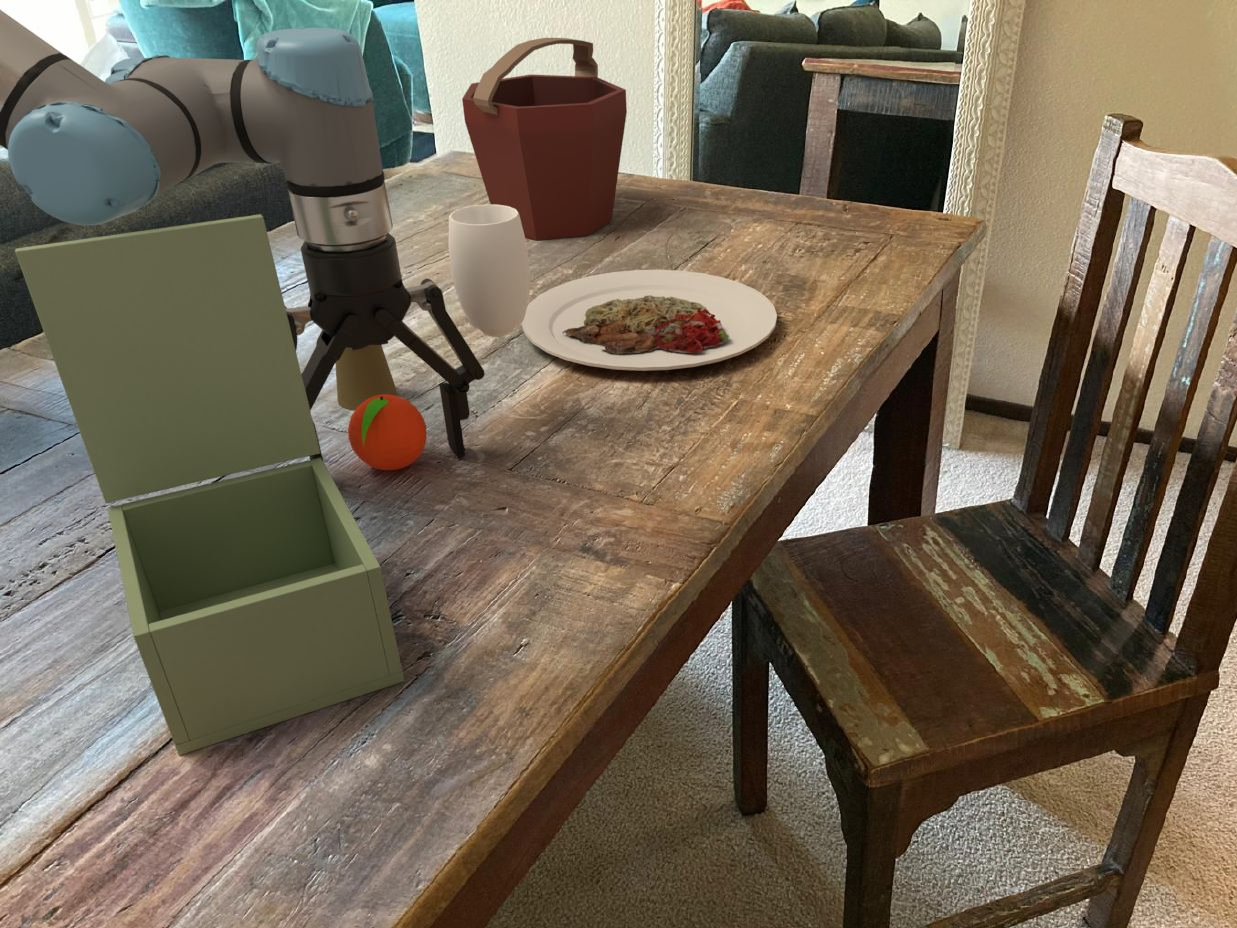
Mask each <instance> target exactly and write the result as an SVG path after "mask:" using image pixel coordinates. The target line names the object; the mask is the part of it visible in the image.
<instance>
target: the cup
mask: <svg viewBox="0 0 1237 928" xmlns="http://www.w3.org/2000/svg"><path fill="white" fill-rule="evenodd" d="M526 239H527V238H525V235H524V231H523V227H522V224H521V220H520V216H519V213H518V212H517V210H516V209H514V208H511V207H509V206H503V205H491V204H490V203H489V204H488V203H487V204H474V205H469V206H465V207H460V208H458V209H455V210H454V211H452V212H451V213H450V214H449V216H448V244H447V245H448V246H447V247H448V256H449V257H448V258H449V265H450V274H451V275H450V276H451V279H452V283H453V286H454V289H455V293H456V296H457V300H458V302H459V305H460V307H461V309H462V311H463V313H464V315H465V317H466V319H467V322H468V324H469V325H470V326H471V327H473V328H475V329H478V330H479V331H480V332H481V333H483V334H484V335H485V336H488V337H492V338H500V337H505V336H508V335H510V334H511V333H513V331H514V330H515V328H516V327H517V326H519V325H521V323H522V322H523V320H524V318H525V314H526V309H527V306H528V304H529V301H530V290H531V289H530V287H531V265H530V258H529V251H528V244H527V240H526Z"/></svg>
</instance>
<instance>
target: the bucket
mask: <svg viewBox="0 0 1237 928" xmlns="http://www.w3.org/2000/svg"><path fill="white" fill-rule="evenodd" d="M554 45H572V50H573V53H572V61H574V63H575V64H574V75H557V74H556V75H552V74H525V75H519V76H511V77H506V76H508V75H509V74H510V73H511V72H512V71H513V70H514V69H515V68H516V66H518V65H519V64H521V62H522V61H524V59H526V58H527V57H528V56H529V55H531V54H532V53H533V52H535V51H537V50H539V49H543V48H545V47H549V46H554ZM593 54H594V43H593V42H590V41H585V40H581V39H573V38H567V37H541V38H536V39H529V40H527V41H524V42H521V43H518V44H516V45H514V46H513V47H512V48H511V49H509V50H508V51H507V52H506V53H504V54H503V55H502V56H501V57H500V58H499V59H498V60H497V61H496V62H495V63H494V64H493V66H491V67H490V68H489V69H488V70H486V71H485V72H484V73H483V74H482V76H481V78H480V80H479V82H473V83H472V82H471V84H470V85H469V87H468V88H467V90H466V92H465V94H463V97H462V98H461V100H462V109H463V117H464V123H465V126H466V130H467V133H468V136H469V140H470V143H471V146H472V149H473V153H474V155H475V159H476V163H477V165H478V169H479V172H480V175H481V178H482V181H483V185H484V188H485V191H486V194H487V198H488V201H489V204H491V205H503V206H509V207H511V208H514V209H516V210H517V212H518V213H519V216H520V220H521V224H522V227H523V231H524V235H525V239H529V240H533V241H545V240H547V241H548V240H557V239H568V238H569V239H570V238H580V237H581V238H582V237H589V236H591V235H592V234H593V233H595V232H597V231H599V230H600V229H601V228H604V227H605V226H607V225H608V224H610V223H611V222H612V221H613V213H614V206H615V198H616V191H617V185H618V178H619V172H620V171H619V170H620V162H621V157H622V156H621V155H622V150H623V142H624V136H625V135H624V134H625V128H626V121H627V113H628V108H627V106H628V105H627V90H626V89H625V88H623V87H621V86H618V85H616V84H614V83H611V82H609V81H607V80H605V79H602V78H600V77H599V64H598V63H597V62H596V59H594V57H593Z"/></svg>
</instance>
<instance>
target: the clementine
mask: <svg viewBox="0 0 1237 928" xmlns="http://www.w3.org/2000/svg"><path fill="white" fill-rule="evenodd" d="M353 411H354V412H353V413H352V414H351V416H350V419H349V423H348V427H347V434H348V442H349V443H350V446H351V449H352V450H353V452H354V453H355V455H356V456H357V458H358V459H359V460H360V461H362V462H363V463H365V464H366V465H368V466H369V467H372V468H373V469H377V470H381V471H397V470H401V469H404V468H406V467H408V466H409V465H411V464H413V463H414V462H415V461H416V460H417V459H418V458H419V456H420V455H421V454H422V453H423V450H424V449H425V447H426V443H427V424H426V422H425V419H424V417H423V415H422V413H421V412H420V411H419V409H418V408H417V406H415V405H414V404H413V403H411V402H410V401H409V400H407V399H405V398H403V397H400V396H398V395H397V396H394V395H386V394H384V395H377V396H374V397H371V398H369V399H367V400H366V401H364V402H363V403H362V404H360V405H359V406H358V407H357V408H356V410H353Z"/></svg>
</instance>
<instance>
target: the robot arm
mask: <svg viewBox="0 0 1237 928" xmlns="http://www.w3.org/2000/svg"><path fill="white" fill-rule="evenodd" d="M256 51H257V56H256V58H253V59H229V58H227V59H226V58H198V57H197V58H196V57H195V58H194V57H174V56H173V57H171V56H169V55H168V54H167V55H166V54H162V55H161V54H156V55H154V56H151V57H136V58H135V57H133V58H124V59H122V60H120V61H117V62H116V63H115V64H113V66H112V67H110V75H109V76H108V77H106V78H105V80H103V79H101V78H100V77H98V76H97V75H96V74H94V73H93V72H91V71H90V70H88V68H87V69H86V67H84V66H82V65H81V64H79V63H78V62H77V61H75V60H74V59H72V58H70V57H69V56H67V55H66V54H64V53H62V52H61V51H60V50H59V49H57V48H56V47H54V46H53V45H51V44H50V43H49V42H48V41H46V40H44V39H43V38H42V37H40V36H39V35H38V34H36V33H34V32H33V31H31V30H30V29H29V28H27V27H26V26H25V25H23V24H22V23H20V21H19V22H18V21H17V20H16V19H15V18H13V17H11V16H10V15H9V14H7V13H6V12H4V11H3V10H2V9H0V146H1V147H2V148H4V149H5V150H7V156H8V157H7V158H8V162H9V165H10V169H11V172H12V175H13V177H14V178H15V180H16V182H17V184H18V185H19V186H21V187H22V188H23V189H24V191H25V192H26V194H27V195H28V196H29V197H30V200H31V202H32V203H33V204H35V206H36V207H38V208H40V210H42V211H43V212H45V213H46V214H47V215H49V216H51V217H53V218H55V219H58V220H59V221H62V222H64V223H67V224H68V223H69V224H72V225H75V226H76V225H77V226H87V227H88V226H91V227H92V226H99V225H103V224H106V223H108V222H112V221H115V220H116V219H119V218H122V217H124V216H127V215H131V214H134V213H137V212H138V211H139V210H140V211H141V210H142V209H144V208H145V207H146V206H148V204H149V203H150V202H151V201H153V200H154V199H155V198H157V197H158V196H160V195H162V194H163V193H165V192H167V191H168V190H170V189H171V188H173V187H175V186H178V185H180V184H183V183H184V182H186V181H188V180H190V179H191V178H193V177H195V176H197V175H199V174H200V173H202V172H204V171H206V170H207V169H209V168H211V167H213V166H214V165H217V164H224V163H225V164H226V163H228V164H229V163H233V164H234V163H236V164H237V163H238V164H239V163H240V164H241V163H242V164H277V163H278V164H280V165H281V169H282V172H283V175H284V179H285V182H286V188H287V191H288V196H289V200H290V201H289V202H290V206H291V210H292V215H293V220H294V225H295V231H296V235H297V237H298V238H299V239H300V240H301V241H303V243H302V245H301V247H300V252H301V257H302V262H303V266H304V272H305V275H306V281H307V285H308V289H309V300H308V304H307V305H305V306H297V307H289V308H288V307H287V306H286V305H285V309H286V313H287V317H288V321H289V325H290V329H291V334H292V338H293V342H294V346H295V350H296V351H297V350H298V336H300V335H303V334H304V332H305V328H306V325H307V323H309V322H312V323H314V324H315V325H316V326H317V327H319V329H321V331H320V333H319V335H318V337H317V339H316V343H315V344H316V345H315V347H314V350H313V352H312V354H311V356H310V358H309V359H308V362H307V363H306V365H305V367H304V369H303V371H302V372H301V375H302V379H303V383H304V387H305V391H306V395H307V399H308V403H309V407H310V412H312V411H311V410H312V409H313V407H314V405H315V403H316V401H317V399H318V397H319V395H320V393H321V391H322V389H323V388H324V386H325V383H326V382H327V379H328V378H329V376H330V375H331V372H332V370H333V368H334V367H335V363H336V361H338V360H339V359H340V358H341V356H342V354H343V352H344V350H345V348H351V349H352V351H353V350H358V349H362V348H364V347H366V346H368V345H382V346H384V345H388V344H389V341H391V340H392V339H393V338H396V339H397V340H398V341H399V342H401V343H402V344H403V345H404V347H407V348H408V349H409V350H410V351H411V352H413V353H414V354H415V355H416V356H417V357H418V358H420V360H421V361H423V362H424V363H425V364H426V365H428V366H429V368H431V369H432V370H433V371H434V372H435V373H436V374H437V375H438V376H441V378H442V379H443V380H444V381H446V382H442V383H439V384H438V386H439V392H440V399H441V406H442V411H443V417H444V425H445V430H446V431H445V432H446V437H447V442H448V446H449V448H450V449H451V450H452V452H453V453H454V455H455V456H456V457H457V458H461V457H465V456H466V450H465V443H464V436H463V430H462V422H461V421H464V420H468V419H469V417H470V406H469V399H468V392H469V391H470V388H471V387H470V383H472V382H474V381H480V380H482V379H483V378H484V377H485V374H486V373H485V369H484V368H483V366H482V365H481V364H480V362H479V360H478V359H477V357H476V355H475V353H474V352H473V351H472V349H471V347H470V345H469V344H468V343H467V342H466V339H465V338H464V336H463V335H462V333H461V331H459V329H458V327H457V325H456V324H455V322H454V321H453V319H452V317H451V316H450V314H449V313H448V311H447V309H446V304H445V299H444V294H443V290H442V289H441V288H440V286H438V285H437V284H436V283H435V282H434V281H433V280H432V279H430V278H424V279H423V280H422V281H420V282H421V283H420V284H419V285H414V286H409V287H405V285H404V283H403V277H402V272H401V271H402V270H401V266H400V259H399V254H398V246H397V242H396V238H395V237H394V236H393V235H392V234H390V233H391V231H392V230H393V227H394V224H393V219H392V213H391V208H390V202H389V197H388V192H387V186H386V181H385V173H384V169H383V164H382V163H383V162H382V155H381V150H380V141H379V135H378V130H377V129H378V128H377V123H376V116H375V108H374V103H373V101H374V100H375V99H374V95H373V91H372V88H371V87H370V83H369V77H368V74H367V70H366V69H367V68H366V65H365V60H364V55H363V52H362V48H361V45H360V43H359V41H358V40H357V38H356V37H354V36H353V35H352V34H351V33H349V32H348V31H345V30H342V29H339V28H332V27H306V28H296V27H295V28H285V29H283V28H282V29H278V30H272V31H269V32H265V33H263V34H262V35H261V36H260V37H259V38H258V39H257V42H256ZM412 303H416V305H417V306H418V307H419V308H420V309H421V310H422V311H425V312H427V313H428V314H429V316H430V318H431V319H432V321H433V322H434V323H435V325H436V327H437V328H438V329H439V331H440V332H441V334H442V336H443V337H444V339H445V340H446V342H447V343H448V345H449V346H450V348H451V350H452V351H453V353H454V355H455V357H457V359H458V360H459V362H460V363H461V365H460V366H458V367H456V368H455V367H454V366H453V365H451V364H450V363H449V362H448V361H447V360H446V359H445V358H444V357H443V356H441V355H440V354H439V353H438V352H437V351H436V350H434V349H433V348H432V347H431V346H430V345H429V344H428V343H427V342H426V341H424V340H423V338H422V337H420V336H419V335H418V334H417V333H415V332H414V331H413V330H412V329H411V328H410V327H409V326H408V325H407V324H406V323H405V322H404V319H405V318H406V315H407V314H408V311H409V309H410V307H411V305H412ZM313 424H314V428H315V432H316V436H317V440H318V444H319V449H320V454H315V455H311V456H308V458H309V460H312V459H317V458H321V459H322V460H323V461H324V458H323V454H322V450H321V445H320V441H319V436H318V433H317V427H316V424H315V422H314V421H313ZM302 458H304V457H302ZM302 458H301V459H302Z"/></svg>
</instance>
